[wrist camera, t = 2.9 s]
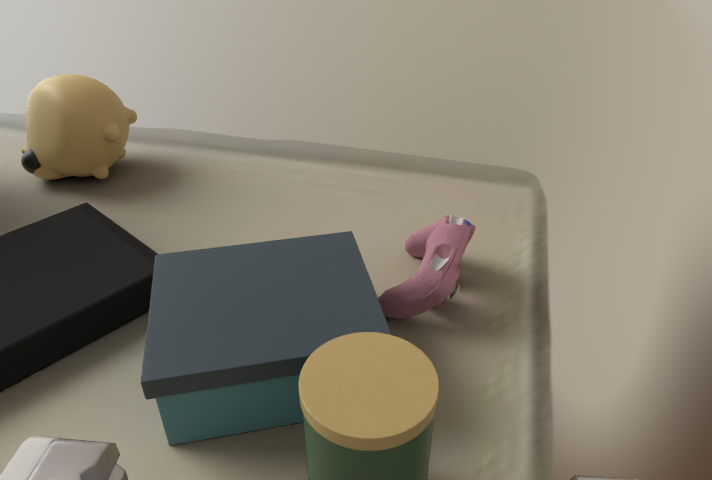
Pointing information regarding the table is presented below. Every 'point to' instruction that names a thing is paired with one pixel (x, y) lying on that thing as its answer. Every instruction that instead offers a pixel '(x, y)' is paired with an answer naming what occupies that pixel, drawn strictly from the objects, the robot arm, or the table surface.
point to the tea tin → (368, 409)
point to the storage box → (248, 329)
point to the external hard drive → (67, 287)
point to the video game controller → (430, 268)
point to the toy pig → (74, 128)
